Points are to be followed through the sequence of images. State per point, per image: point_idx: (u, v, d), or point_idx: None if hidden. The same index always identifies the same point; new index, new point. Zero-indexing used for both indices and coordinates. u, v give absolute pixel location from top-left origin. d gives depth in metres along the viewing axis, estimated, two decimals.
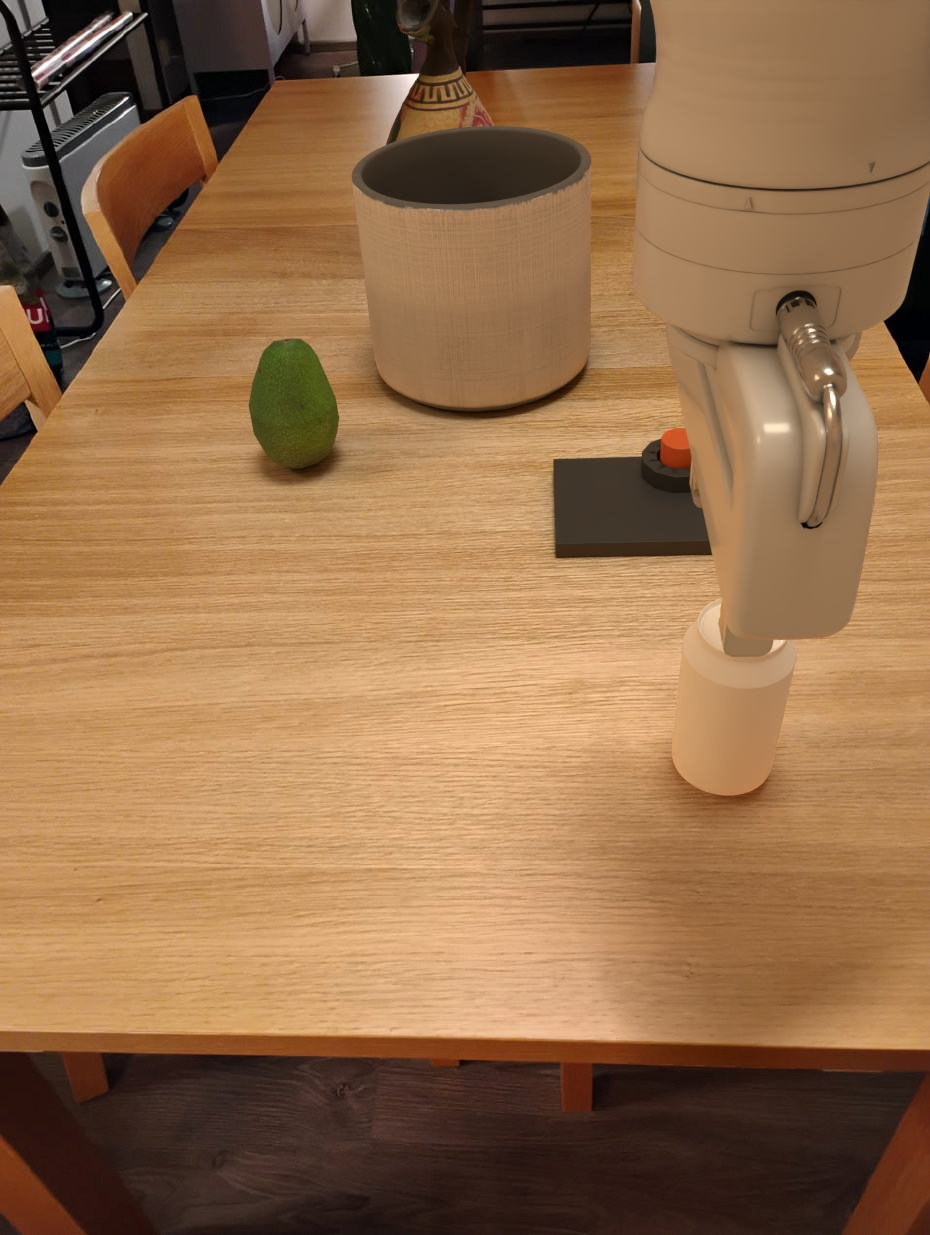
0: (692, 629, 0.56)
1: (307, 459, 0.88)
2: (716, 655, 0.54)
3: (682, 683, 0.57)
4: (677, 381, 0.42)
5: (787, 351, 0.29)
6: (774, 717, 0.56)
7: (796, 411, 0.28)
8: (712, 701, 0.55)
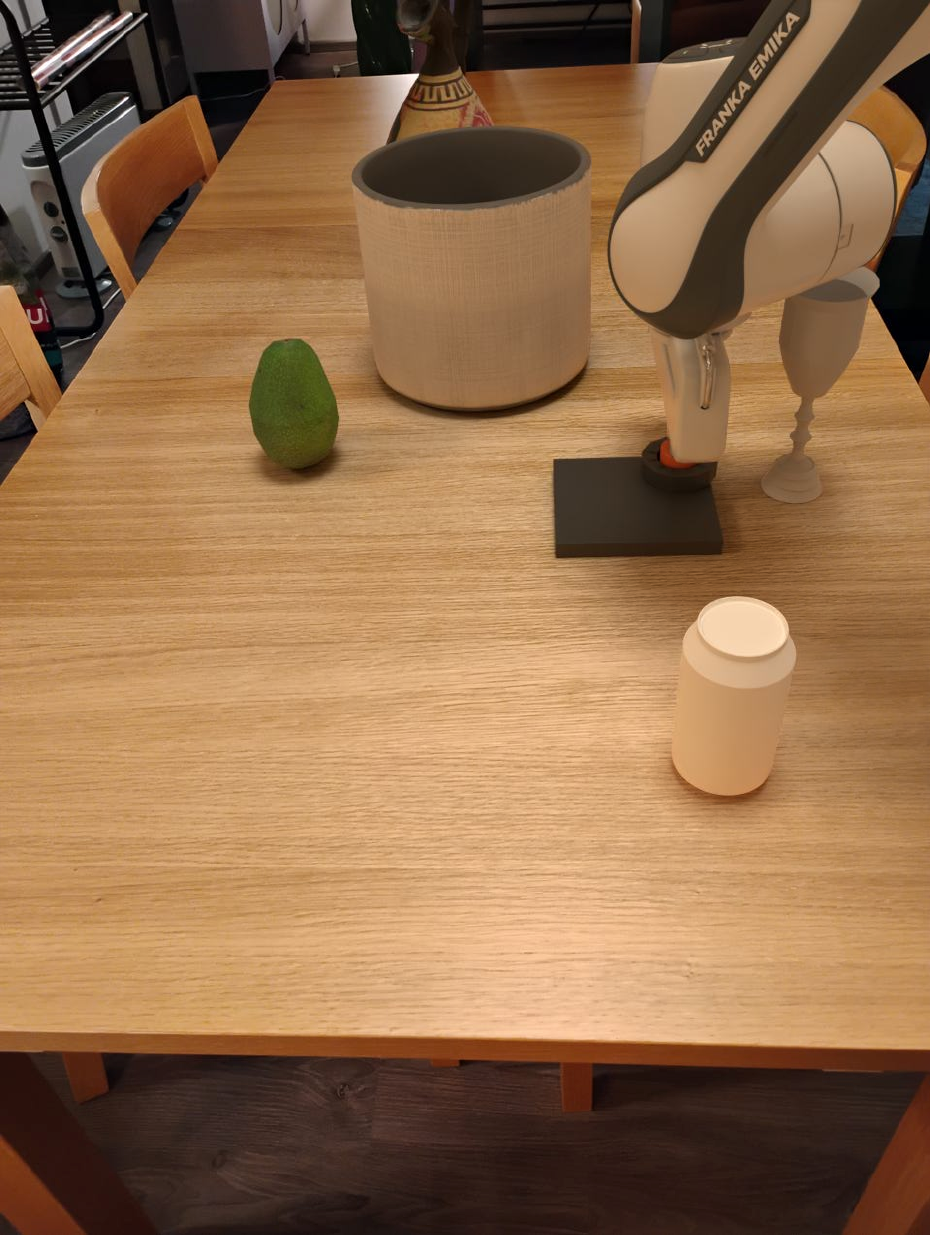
0: (692, 629, 0.56)
1: (307, 459, 0.88)
2: (716, 655, 0.54)
3: (682, 683, 0.57)
4: (655, 354, 0.83)
5: (696, 337, 0.70)
6: (774, 717, 0.56)
7: (698, 361, 0.69)
8: (712, 701, 0.55)
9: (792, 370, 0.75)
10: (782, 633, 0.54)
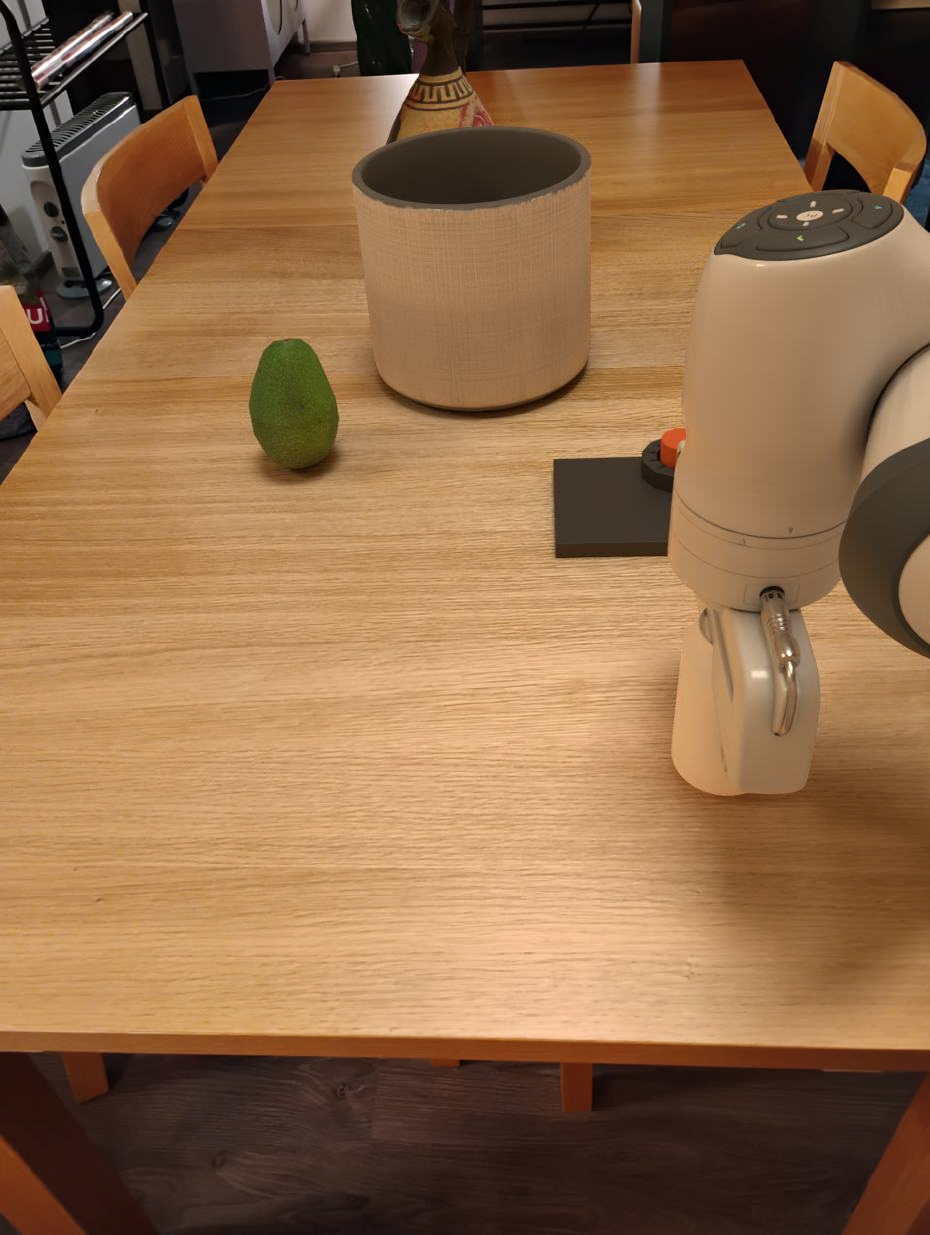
0: (692, 629, 0.56)
1: (307, 459, 0.88)
2: None
3: (682, 683, 0.57)
4: None
5: (766, 623, 0.47)
6: None
7: (771, 666, 0.46)
8: (712, 701, 0.55)
9: None
10: None
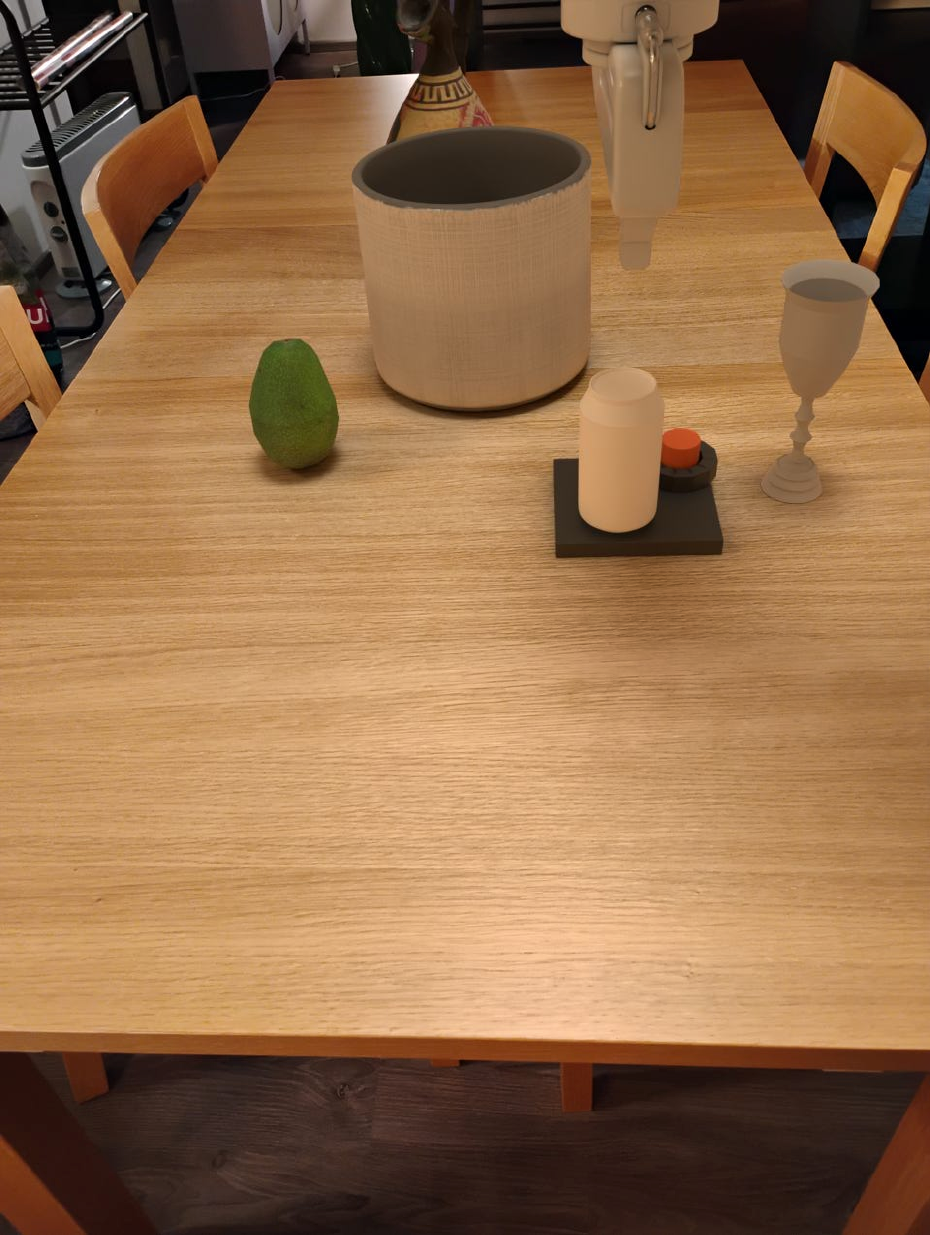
0: None
1: (307, 459, 0.88)
2: (601, 402, 0.71)
3: (580, 435, 0.74)
4: (598, 119, 0.65)
5: (639, 38, 0.52)
6: (649, 458, 0.73)
7: (641, 62, 0.51)
8: (600, 442, 0.72)
9: (792, 370, 0.75)
10: (652, 388, 0.72)
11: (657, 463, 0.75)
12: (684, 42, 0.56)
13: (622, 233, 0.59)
